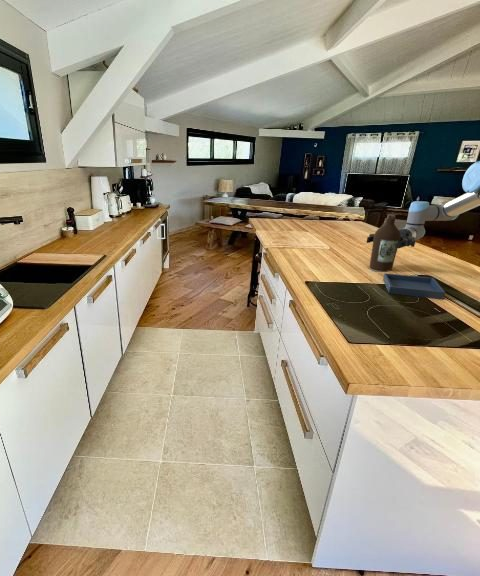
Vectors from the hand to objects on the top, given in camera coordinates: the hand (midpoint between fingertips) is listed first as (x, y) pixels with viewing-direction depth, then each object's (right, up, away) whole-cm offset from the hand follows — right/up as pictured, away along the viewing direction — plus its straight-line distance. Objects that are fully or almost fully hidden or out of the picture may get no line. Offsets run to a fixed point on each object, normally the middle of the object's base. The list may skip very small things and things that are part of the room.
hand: (382, 242), depth 143 cm
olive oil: (+3, -11, +7) cm, 13 cm away
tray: (+1, -21, -18) cm, 28 cm away
